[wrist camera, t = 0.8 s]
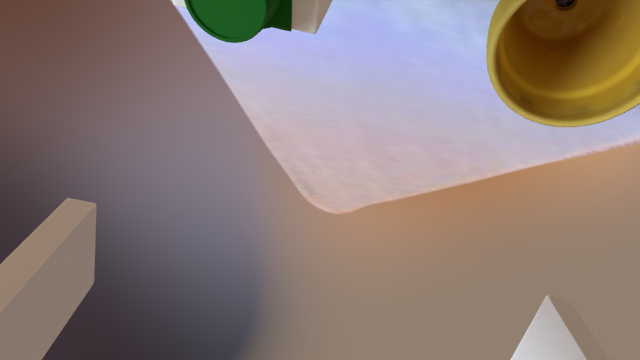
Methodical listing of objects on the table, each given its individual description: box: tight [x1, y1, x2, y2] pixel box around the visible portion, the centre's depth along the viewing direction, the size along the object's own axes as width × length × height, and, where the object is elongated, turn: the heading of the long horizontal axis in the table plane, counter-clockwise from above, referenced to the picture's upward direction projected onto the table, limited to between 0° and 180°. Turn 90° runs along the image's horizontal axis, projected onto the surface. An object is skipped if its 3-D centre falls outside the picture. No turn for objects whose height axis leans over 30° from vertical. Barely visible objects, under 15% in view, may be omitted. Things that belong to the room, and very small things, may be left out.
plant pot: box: [487, 0, 640, 127], centre depth 32 cm, size 10×10×10 cm
